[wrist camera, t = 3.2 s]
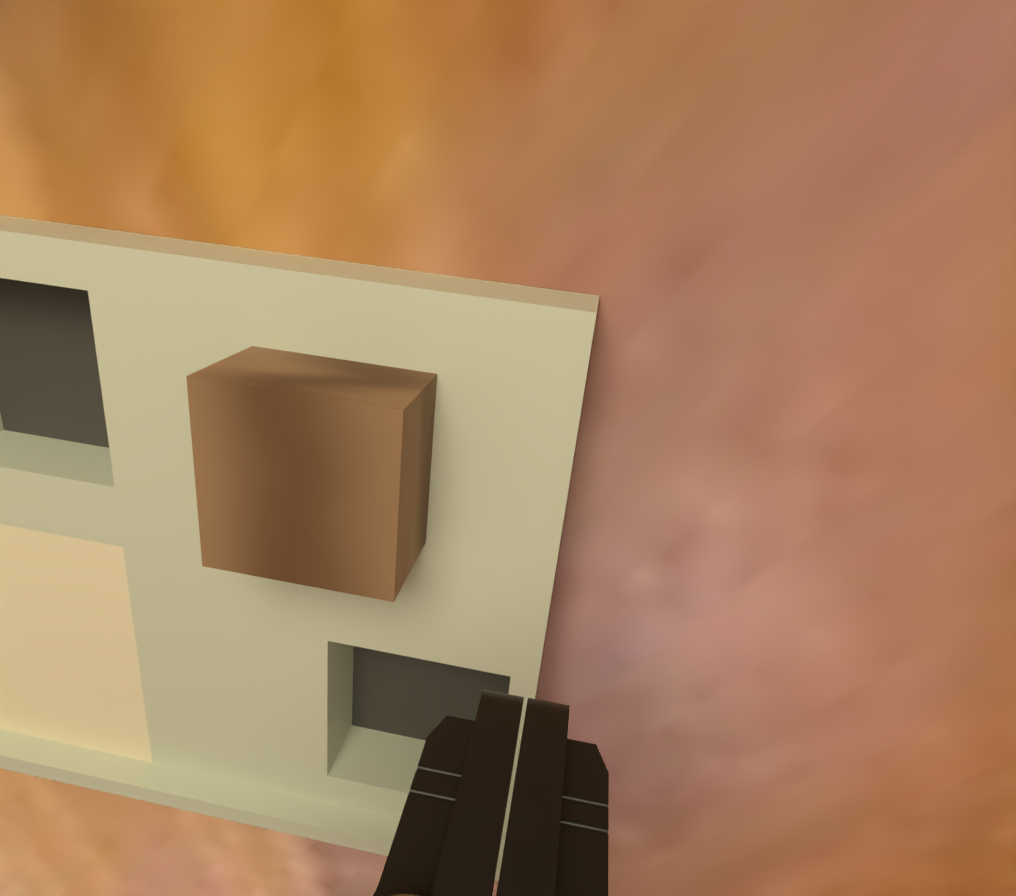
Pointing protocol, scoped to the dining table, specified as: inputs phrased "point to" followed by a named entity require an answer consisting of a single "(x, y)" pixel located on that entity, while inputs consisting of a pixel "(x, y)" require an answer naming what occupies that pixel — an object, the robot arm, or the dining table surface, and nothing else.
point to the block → (312, 468)
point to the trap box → (245, 598)
